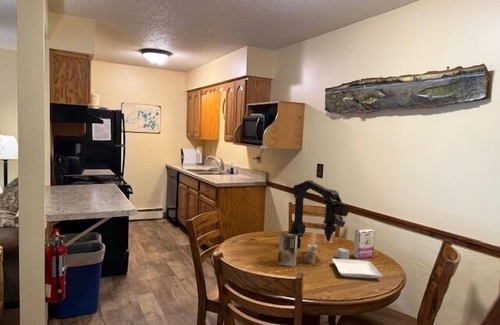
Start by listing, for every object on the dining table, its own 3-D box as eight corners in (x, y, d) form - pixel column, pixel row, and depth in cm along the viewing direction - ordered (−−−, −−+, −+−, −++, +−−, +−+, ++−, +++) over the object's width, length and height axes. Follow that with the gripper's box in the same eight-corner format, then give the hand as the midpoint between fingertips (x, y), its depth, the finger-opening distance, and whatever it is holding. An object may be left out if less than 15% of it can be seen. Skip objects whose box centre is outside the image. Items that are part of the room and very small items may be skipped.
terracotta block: (323, 242, 197) (324, 233, 196) (323, 239, 202) (324, 231, 201) (332, 243, 196) (333, 234, 195) (332, 240, 201) (333, 232, 200)
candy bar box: (367, 255, 212) (369, 228, 211) (373, 257, 208) (375, 230, 206) (352, 256, 208) (354, 229, 207) (357, 259, 203) (360, 231, 202)
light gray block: (341, 259, 201) (341, 251, 201) (336, 256, 206) (337, 248, 206) (348, 259, 202) (349, 251, 202) (344, 256, 207) (345, 248, 207)
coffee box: (296, 263, 191) (298, 234, 190) (293, 267, 185) (296, 237, 184) (280, 260, 194) (282, 232, 193) (277, 264, 188) (279, 235, 187)
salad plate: (331, 263, 195) (331, 257, 194) (369, 266, 194) (369, 260, 194) (339, 279, 173) (339, 272, 173) (382, 282, 173) (382, 275, 172)
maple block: (308, 255, 206) (308, 246, 206) (307, 252, 211) (307, 244, 211) (316, 255, 206) (317, 247, 206) (315, 252, 211) (315, 244, 211)
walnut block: (303, 262, 193) (304, 253, 192) (306, 260, 197) (307, 251, 197) (312, 264, 191) (313, 255, 190) (315, 261, 195) (315, 253, 195)
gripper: (346, 217, 187) (343, 246, 188) (343, 210, 205) (341, 236, 206) (325, 215, 189) (322, 243, 190) (324, 208, 207) (322, 234, 208)
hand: (328, 239), depth 199 cm, fingers closed on terracotta block, 5 cm apart
